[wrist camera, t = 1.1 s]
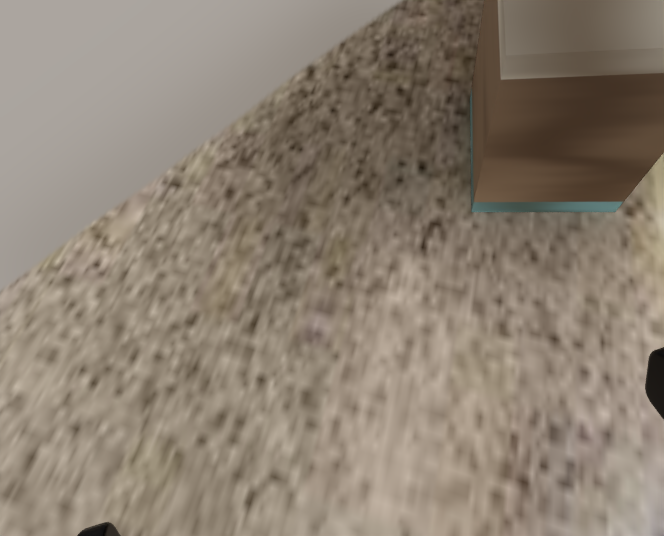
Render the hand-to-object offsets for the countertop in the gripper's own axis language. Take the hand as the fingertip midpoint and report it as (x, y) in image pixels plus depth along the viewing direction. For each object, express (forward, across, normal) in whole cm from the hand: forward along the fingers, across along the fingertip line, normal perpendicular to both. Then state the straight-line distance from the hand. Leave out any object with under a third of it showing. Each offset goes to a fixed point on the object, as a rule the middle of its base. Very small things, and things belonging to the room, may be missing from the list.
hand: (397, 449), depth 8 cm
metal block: (+16, -12, +2) cm, 20 cm away
